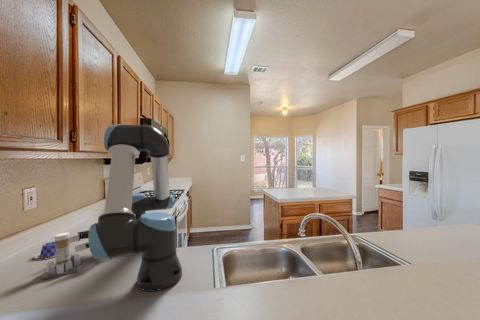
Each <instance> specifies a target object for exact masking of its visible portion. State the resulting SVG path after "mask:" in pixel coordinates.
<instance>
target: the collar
mask: <svg viewBox="0 0 480 320" xmlns="http://www.w3.org/2000/svg"><path fill="white" fill-rule="evenodd" d="M82 260H83V259H82V258H81V257H80V254H79V253H70V261H68V262H65V263H62V264H57V262H56V257H54V261H55V263H54V261H53V260H52V261H48V262H47V263H46V264H45V266H46V267H45V268H46V269H45V270H46V273H45V274H44V275H43V277H42V280H48V279H52V278H57V277H61V276H66V275H69V274H74V273H75V274H76V273H77V272H78V270H79V268H80V267H81V264H82Z"/></svg>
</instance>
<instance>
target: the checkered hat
mask: <svg viewBox="0 0 480 320" xmlns="http://www.w3.org/2000/svg"><path fill="white" fill-rule="evenodd" d="M38 254H40V256H39V258H42V257H43V258H45V259H48V258H49V257H50V258H49V259H52V258H56V242H55V241H51V242H47V243H45V244H43V245H42V246H41V250H40V252H39V253H37V254H35V255H34V256H33V259H35V260H38V259H37V258H35V256H36V255H38ZM47 257H48V258H47ZM45 259H44V260H45Z"/></svg>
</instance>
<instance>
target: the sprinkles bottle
mask: <svg viewBox="0 0 480 320" xmlns="http://www.w3.org/2000/svg"><path fill="white" fill-rule="evenodd" d="M70 236H71V235H70V232H61V233H60V232H59V233H56V234H55V235H54V242H56V255H55V258H56V262H57V264H62V263H65V262H68V261H70V255H71V245H70V244H71V243H69V237H70Z"/></svg>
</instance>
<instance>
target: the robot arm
mask: <svg viewBox="0 0 480 320" xmlns="http://www.w3.org/2000/svg"><path fill="white" fill-rule="evenodd" d="M103 146H104V149H105V151H106V152H107V153H108V155H109V156H111V158H110V166H109V174H108V182H107V190H106V195H105V198H106V199H105V205H104V211H103V212H102V213H101V214H99V216H98V217H97V218H98V220H97V222H95V223H92V224H91V225H90V226H89V227H90V228H89V229H88V230H85V231H79V232H77V234H75V235H74V234H73V235H70V237H69V243H70V244H71V243H75V242H80V241H81V240H85V239H87V241H84V242H81V243H77V244H75V245H74V251H75V253H79V252H82V251H84V250H87V249H89V251H90V253H91V255H92V257H93V258H94V259H96V260H108V259H109V260H111V259H113V258H119V257H126V256H127V257H128V256H133V255H139V254H140V255H141V263H140V266H139V269H138V273H137V277H136V281H137V282H136V283H137V284H136V285H137V288H139V289H140V288H141V289H140V290H142V289H144V290H158V289H162V290H165V289H168V288H170V287H172V286H174V285H176V284H177V283H178V282H179V281H180V280H181V278H182V276H183V267H182V264H181V263H180V260H179V257H178V255H177V240H176V239H177V238H176V236H177V235H176V230H177V227H176V220H175V216H174V215H173V214H170V213H167V212H160V210H162V211H163V210H170V209H174V207H175V206H174V202H175V201H174V195H173V194H171V193H170V181H169V180H170V178H169V162H168V161H169V159H168V156H169V155H170V146H169V143H168V140H167V138H166V137H165V136H164V134H163V133H162V131H160V130H159V129H158V128H156V127H155V126H153V125H150V124H120V123H119V124H110V125H109V126H108V127H107V128H106V129H105V131H104V136H103ZM140 152H147V155H148V157H149V158H150V165H151V174H152V184H153V191H154V192H153V193H154V196H153V195H152V196H146V194H145V193H142V192H140V193H134V182H135V181H134V178H135V168H136V167H135V165H136V159H137V158H138V157H139V156H140ZM151 211H153V212H151ZM154 211H155V212H154ZM156 211H157V212H156ZM158 211H159V212H158ZM167 287H168V288H167ZM164 288H165V289H164ZM144 290H143V291H144ZM158 291H159V290H158Z"/></svg>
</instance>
